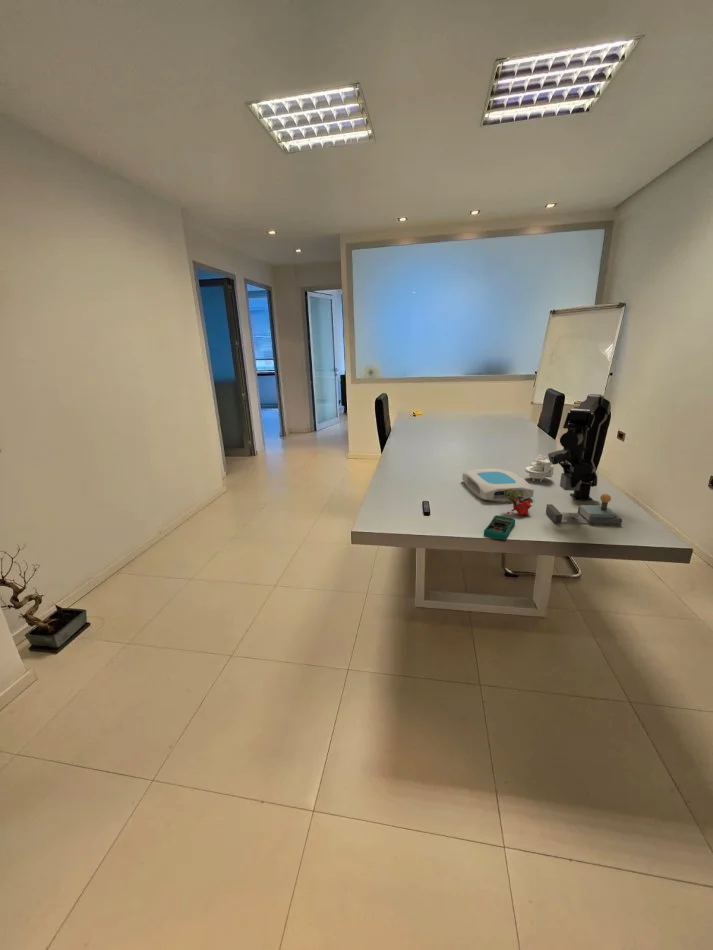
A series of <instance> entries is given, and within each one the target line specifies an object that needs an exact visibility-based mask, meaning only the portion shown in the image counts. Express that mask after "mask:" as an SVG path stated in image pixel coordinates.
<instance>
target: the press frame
mask: <svg viewBox="0 0 713 950" xmlns="http://www.w3.org/2000/svg"><path fill="white" fill-rule="evenodd" d="M545 507H546V508H545V514H546V515H547V516H548V517H549V518H550V520H551V521H552V522H553V524H555V525H562V524H564V525H565V524H566V525H567V524H568V525H569V524H571V525H572V524H573V525H589V526H609V527H610V526H616V527H617V526H618V527H621V526H622V524H623V523H622V522H623V518H621V517H620V516H619V515H617V514H616V513H615V512H614V511H612V510H611V509H610V508H609V507H607V508H608V509H609V510H610V511H612V512H613V513H614V514H615V518H590V520H589V521H588V520H587V519H586V518H585V517H584V516H583V515H581V514H580V513H579V512H580V506H578V509H577V512H565V511H564V512H561V511H559V509H557V508H556V507H555V506H554V504H551V503H550V504H549V503H548V504H546V506H545Z"/></svg>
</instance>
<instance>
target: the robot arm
mask: <svg viewBox="0 0 713 950" xmlns="http://www.w3.org/2000/svg"><path fill="white" fill-rule="evenodd" d="M611 405H612V404H611V402H610V401H609V400H608V399H606V398H605V396H604V395H603V394H596V393H593V394H592V393H591V394H587V396H586V399H585V400H584V401H583V402H582V403H581V404H580V405H579V406H574V407H572V408H571V409H570V410H568V412H567V415H566V418H565V421H564V424H563V427H562V428H563V429H567V431H566V432H565V433H563V434H562V435H561V436H560V438H559V444H560V445H561V447H562V448H563V449H561V450H560V449H559V450H555V451H552V452H549V453H548V454H547V456H548V460H550V462H551V463H552V464H553V465H559V466H560V467H561V468H562V470H563V471H562V472H563V473H571V487H572V488H574V487H575V486H576V485H577V484H578V482H579V481H580V480H581V484H580V489H579V491H573V493H570V494H569V496H571V497H572V498H573V499H575V500H576V501H593V500H594V499H593V497H591V495H590V494H591V489H592V488H593V487H597V485H598V475H597V472H596V471H597V468H596V465H595V463H594V457H595V453H596V449H597V448H596V447H597V443H598V441H599V440H598V439H599V434H600V430H601V426H602V424H604V422H606V421H607V419H608V416H609V415H610V413H611V409H612V406H611ZM591 487H592V488H591Z"/></svg>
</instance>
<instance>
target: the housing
mask: <svg viewBox="0 0 713 950" xmlns="http://www.w3.org/2000/svg"><path fill="white" fill-rule="evenodd" d="M580 484H581V480H580V481H579V482H578V484H577V485H576V486H575V487H574V488H572V487H571V473H564V472H563V473H561V475H560V481H559V487H560V488H562V489H563V490H564V491H573V492H574V491H579V489H580Z"/></svg>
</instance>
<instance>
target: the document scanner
mask: <svg viewBox="0 0 713 950" xmlns="http://www.w3.org/2000/svg"><path fill="white" fill-rule="evenodd" d="M462 482H463V483H464V484H465V486H466V488H468V489H469V490H470V491H471V492H472V493H473V494H474V495H476V497H478V498H479V499H481V500H486V501H490V502H495V503H504V502H505V503H506V501H509V502H510V500H509V499H508V498H507V497H505V494H497V495H496V494H495V493H496V492H504V490H506V489H508V488H510V489H512V490H513V491H514V492H515V491H517V492H520V494H521V495H522V496H523V498H524V500H529V499H532V498H533V497H534V490H535V489H534V488H533V487H532V486H531V485H530V484H529V483H528V482H527V481H526V480H525V479H524V478H522V477H520V476H519V474H516V473H515V472H512V471H508V470H504V469H499V468H491V467H489V468H474V469H471V470H467V471H464V472H462ZM515 493H516V492H515Z"/></svg>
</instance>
